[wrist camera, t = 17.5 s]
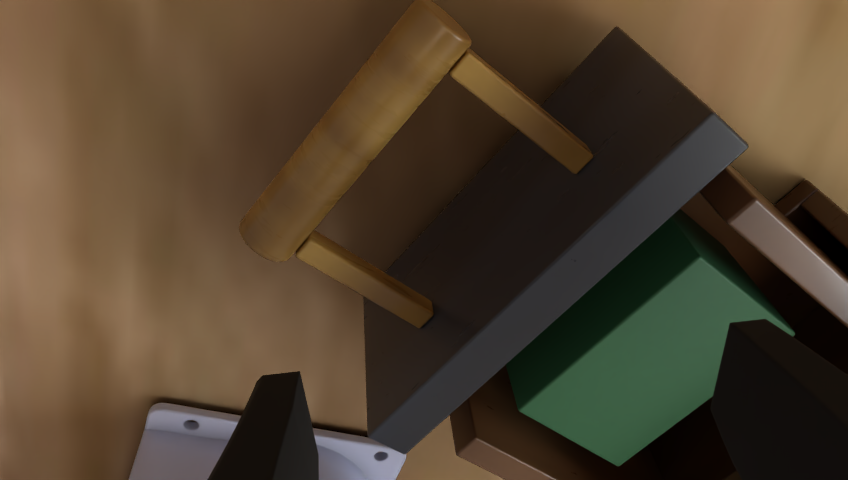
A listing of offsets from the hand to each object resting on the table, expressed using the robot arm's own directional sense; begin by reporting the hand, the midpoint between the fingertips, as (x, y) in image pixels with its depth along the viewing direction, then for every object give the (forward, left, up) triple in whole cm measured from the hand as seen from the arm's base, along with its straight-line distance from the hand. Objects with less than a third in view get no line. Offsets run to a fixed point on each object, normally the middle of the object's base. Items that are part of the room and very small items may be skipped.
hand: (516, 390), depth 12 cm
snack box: (+6, -2, -8) cm, 10 cm away
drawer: (+4, -2, -9) cm, 10 cm away
